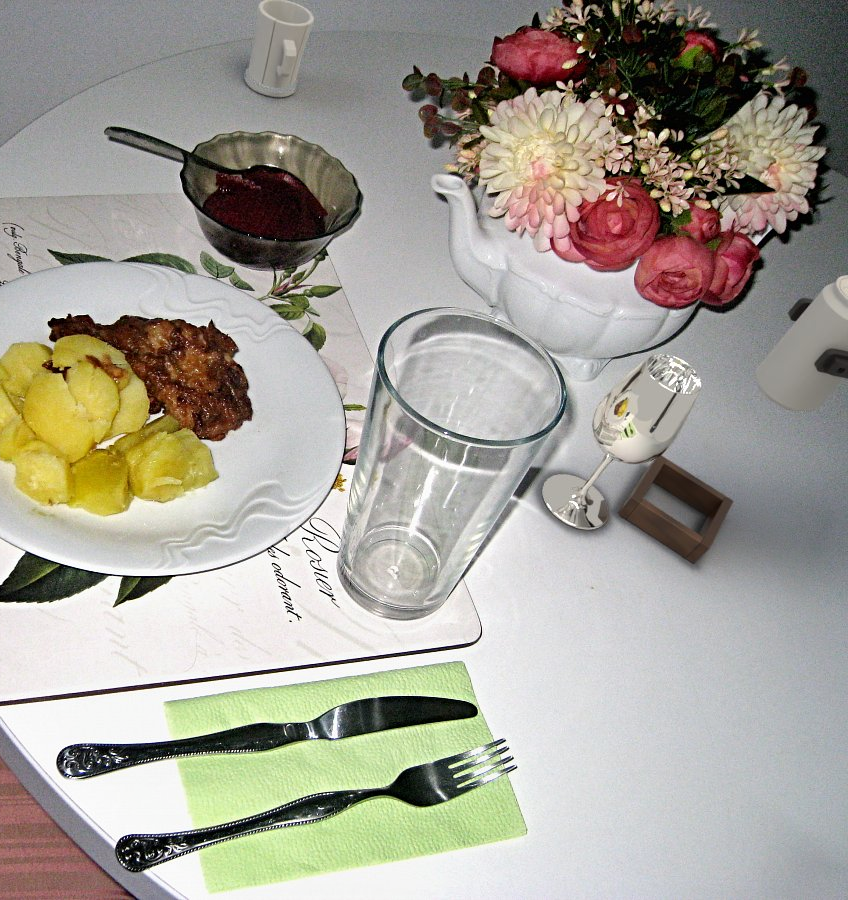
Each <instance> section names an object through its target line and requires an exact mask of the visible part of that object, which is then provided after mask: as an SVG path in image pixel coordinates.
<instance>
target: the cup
mask: <svg viewBox="0 0 848 900" xmlns="http://www.w3.org/2000/svg"><path fill="white" fill-rule="evenodd" d="M256 15H257V17H256V23H255V30H254V31H255V32H254V37H253V44H252V50H251V55H250V59H249V64H248V66H249V74H250V76H251V77H252V78H253V79H254V80H256V81H257V82H259V85H260V84H262V86H263V85H265V86H263V87H266V86H267V88H269V87H273V88H272V89H274V88H282V87H283V88H284V87H287V86H289V85H292V84H293V83H294V82H295V80H296V78H297V76H298V73H299V69H300V66H301V61H302V58H303V55H304V51H305V49H306V45H307V42H308V40H309V37H310V33H311V30H312V28H313V24H314V21H315V17H314V14H313V13H312V12H311V11H310V10H309V9H307V8H306V7H305V6H302V5H301V4H298V3H296V2H294V1H290V0H263V1H262V0H261V2H259V4H258V8H257V14H256ZM243 77H244V81H245V83H246V84H247V86H248V87H249V88H250V89H252V91H254V92H256V93H257V94H260V95H263V96H267V97H270V98H286V97H290V96H291V95H293V94H294V93H295V92H293V91H291V92H287V93H274V92H269V91H266V90H263V89H260V88H258V87H256V86H254V85H253V84H251V83H250V82H249V81H248V80H247V78H246V77H245V74H244V76H243ZM250 79H251V78H250ZM254 82H255V81H254ZM269 89H271V88H269Z"/></svg>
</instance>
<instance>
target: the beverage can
mask: <svg viewBox="0 0 848 900" xmlns="http://www.w3.org/2000/svg"><path fill="white" fill-rule="evenodd" d="M831 348H833V349H838V350H843V351H848V274H847V275H841V276H838V278H837V279H836V280H835V282H833V283H829V284H827V285H825V286H824V287H823V288H822V289H821V291H820V292H819V293H818V295H816V296H815V298H814V300H813V302H812V303H811V304H810V305H809V306H808V308H807V309H806V310H805V311H804V312H803V314H802V315H801V316H800V317H799V318H798V320H797V321H794V323H793V324H792V325H791V327H790V328H789V329H788V330H787V331H786V333H785V334H784V335H783V336H782V337H781V339H780V340H778V342H777V343H776V345H775V346H774V347H773V348H772V349H771V351H770V352H769V353H768V354H767V355H766V357H764V359H763V360H762V361H761V362H760V363H759V364H758V366H757V367H756V369H755V372H754V377H755V381H756V386H757V388H758V390H759V391H760V393H761V394H762V395H763V397H765V399H767V400H768V401H770V402H772V403H773V404H774V405H776V406H778V407H780V408H782V409H785V410H787V411H792V412H806V413H807V412H813V411H815V410H817V409H819V408H820V406H822V405H823V404H824V402H825V401H826V400H827V399H828V398H829V397H830V396H831V395H832V394H833V393H834V392H835V391H836V390H837V389H838V388H839V387H840V385H842V383H844V381H845V380H846V378H843V377H837V376H832V375H830V374H827V373H822V372H818V371H817V369H816V367H815V365H814V363H815V361H816V360H817V359H818V358H819V357H820V356H821V355H822V354H823V353H824V352H825V351H826V350H827V349H831Z"/></svg>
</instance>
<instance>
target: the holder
mask: <svg viewBox="0 0 848 900" xmlns="http://www.w3.org/2000/svg"><path fill="white" fill-rule="evenodd" d="M653 483H655V484H656V485H658V486H659V487H661V488H663V489H664V490H665V491H667V492H668V493H671V494H672V495H674V496H675V497H677V498H678V499H680V500H682V501H683V502H684V503H686V504H688V505H689V506H690V507H692V508H694V509H695V510H697V511H699V512H700V513H702V514H703V515H705V516H707V517H706V519H705V521H704V522H703V525H702V526H701V528H700V530H699V532H698V533H697V532H696V531H695V530H692V529H691V528H690V527H688V526H686V525H685V524H684V523H682V522H680V520H677V519H676V518H674V517H673V516H671V515H669V514H668V513H666V512H665V511H663V510H662V509H660V508H659V507H657V506H656V505H655V504H653V503H651V502H650V501H648V500H647V499H645V498H644V497H645V496H646V494H647V492H648V490H649V489H650V487H651V485H652V484H653ZM733 503H734V500H733V499H731V498H730V497H728V496H727V495H725V494H723V492H721V491H720V490H718V489H716V488H715V487H713V486H711V485H710V484H709V483H706V481H703V480H701V479H700V478H698V477H697V476H695V475H693V474H692V473H690V472H689V471H687V470H686V469H684V468H682V467H681V466H679V465H678V464H676V463H674V462H673V461H672V460H669V459H668V458H666V457H665V456H663V454H662V455H661V456H659V457H658V458H656V459H654V460H652V461H651V463H650V464H649V465H648V467H646V469H645V470H644V472H643V473H642V475H641V477H640V478H639V480H638V481H637V483H636V484H635V486H634V487H633V489H632V491H631V492H630V493H629V495H628V497H627V498H626V500H625V502H624V503H623V504H622V506H621V508H620V509H619V511H618V512H617V514H618V515H619V516H620V517H622V518H623V519H624V520H626V521H628V522H630V523H631V524H633V525H634V526H636V527H637V528H639V529H640V530H641V531H643V532H644V533H646V534H648V535H649V536H651V537H653V538H654V539H656V540H657V541H658V542H660V543H662V544H663V545H665V546H666V547H668V548H669V549H670V550H672V551H673V552H675V553H677V554H678V555H680V556H681V557H683V558H684V559H685V560H686V561H688V562H690V563H692V564H694V565H695V564H696V563H697V562H698V561H699V560H700V559H701V558H702V557H703V556H704V555H705V554H706V553H707V552H708V551H709V550H710V549H711V546H712V545H713V544H714V541H715V539H716V537H717V535H718V533H719V531H720V529H721V528H722V525H723V524H724V521H725V519H726V517H727V515H728V513H729V511H730V509H731V507H732V506H733Z"/></svg>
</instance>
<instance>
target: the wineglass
mask: <svg viewBox="0 0 848 900" xmlns="http://www.w3.org/2000/svg"><path fill="white" fill-rule="evenodd" d="M702 388H703V381H702V379H701V377H700V375H699V373H698V372H697V371H696V370H695V368H693V366H691V365H690V364H689V363H688V362H687V361H685V360H683V359H681V358H679V357H677V356H674V355H672V354H667V353H662V352H661V353H659V352H658V353H652V354H651V355H649V356H647V357H646V358H645V359H644V360H643V361H642V362H640V363H639V364H638V365H636V366H635V367H634V368H633V369H632V370H631V371H629V372H628V373H627V374H626V375H625V376H624V377H623V378H621V380H619V381H618V382H617V383H616V384H615V385H614V386H613V387H612V388H611V389H610V390H609V391H608V393H606V395H605V396H604V397H603V398H602V399H601V401H600V402H599V403H598V405H597V407H596V408H595V410H594V413H593V418H592V423H591V426H592V427H591V428H592V433H593V438H594V440H595V442H596V445H598V447H599V449H600V450H601V452H603V453H604V456H603V458H602V459H601V461H600V463H599V464H598V465H597V467H596V468H595V470H593V472H592V473H591V475H590V476H589V477H588V478H587V480H585V479H583V478H581V477H578V476H576V475H572V474H565V473H561V474H560V473H559V474H555V475H552V476H550V477H548V478H546V480H545V481H544V483H543V485H542V490H541V493H542V499H543V501H544V503H545V505H546V507H547V508H548V509H549V511H550V513H552V514H553V515H554V516H555V517H556V518H557V519H558V520H560V521H562V522H563V523H565V524H566V525H568V526H571V527H573V528H576V529H579V530H595V529H598V528H600V527H602V526H603V525H604V524H605V523H606V522H607V520H608V518H609V507H608V503H607V501H606V499H605V498H604V496H603V495H602V494H601V492H600V491H599V490H598V489H597V488H596V487H595V486H594V483H595V482H596V481H597V480H598V478H599V477H600V475H602V473H603V472H604V471H605V470H606V468H607V467H608V466H609V465H610V464H611V463H612V462H613V461H616V462H619V463H623V464H628V465H640V464H646V463H649V462H653V461H654V459H656V458H658V457H659V456H661V455H662V456H663V455H664V454H665V453H666V452H667V451H668V450H669V449H670V447H671V446H672V445H673V444H674V442H675V440H676V439H677V438H678V437H679V435H680V434H681V432H682V430H683V428H684V426H685V424H686V422H687V421H688V419H689V416H690V414H691V412H692V410H693V408H694V406H695V403H696V401H697V399H698V396H699V395H700V392H701V390H702Z"/></svg>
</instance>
